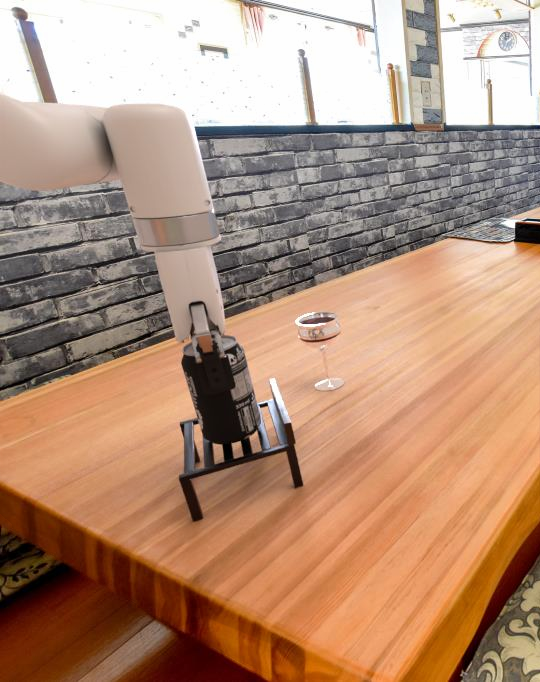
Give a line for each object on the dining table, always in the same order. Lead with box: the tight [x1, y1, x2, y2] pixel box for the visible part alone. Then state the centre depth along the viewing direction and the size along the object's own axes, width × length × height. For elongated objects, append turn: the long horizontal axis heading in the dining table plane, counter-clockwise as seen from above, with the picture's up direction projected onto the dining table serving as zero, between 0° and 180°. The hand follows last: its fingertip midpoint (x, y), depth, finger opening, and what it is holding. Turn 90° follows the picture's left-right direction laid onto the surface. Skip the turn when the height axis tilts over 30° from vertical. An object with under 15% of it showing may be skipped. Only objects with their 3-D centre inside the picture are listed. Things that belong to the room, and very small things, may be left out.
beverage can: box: [180, 334, 261, 446], centre depth 64 cm, size 7×7×12 cm
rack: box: [178, 378, 304, 522], centre depth 67 cm, size 12×14×9 cm
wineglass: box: [295, 311, 345, 392], centre depth 89 cm, size 7×7×12 cm
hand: (218, 375), depth 63 cm, fingers open, 9 cm apart
